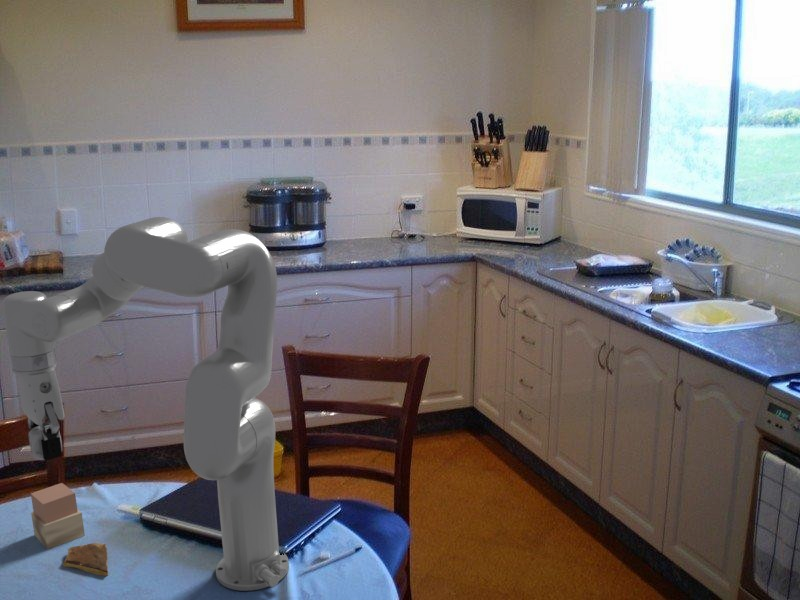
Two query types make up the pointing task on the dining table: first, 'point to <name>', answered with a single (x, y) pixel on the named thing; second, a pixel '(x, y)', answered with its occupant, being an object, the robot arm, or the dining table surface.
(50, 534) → the tower base
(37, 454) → the die
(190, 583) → the dining table surface
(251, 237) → the robot arm
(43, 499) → the tower top
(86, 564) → the shard
